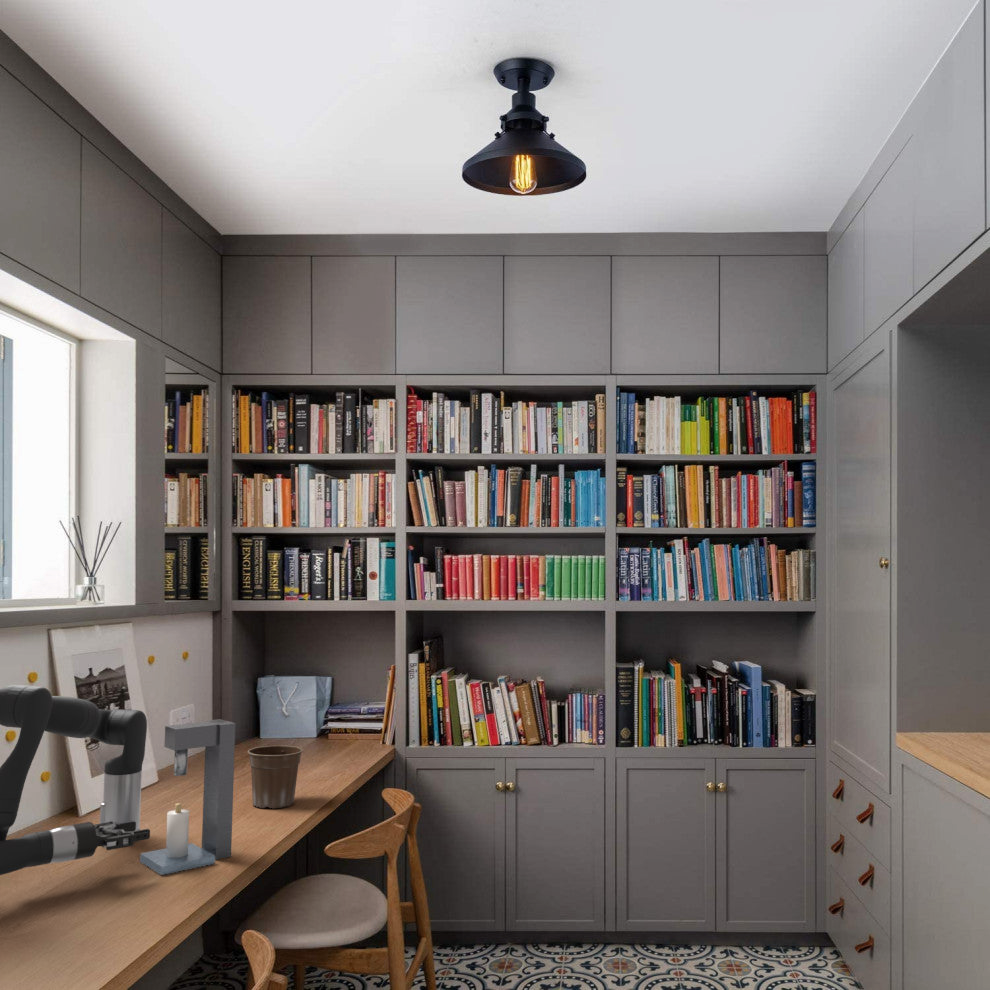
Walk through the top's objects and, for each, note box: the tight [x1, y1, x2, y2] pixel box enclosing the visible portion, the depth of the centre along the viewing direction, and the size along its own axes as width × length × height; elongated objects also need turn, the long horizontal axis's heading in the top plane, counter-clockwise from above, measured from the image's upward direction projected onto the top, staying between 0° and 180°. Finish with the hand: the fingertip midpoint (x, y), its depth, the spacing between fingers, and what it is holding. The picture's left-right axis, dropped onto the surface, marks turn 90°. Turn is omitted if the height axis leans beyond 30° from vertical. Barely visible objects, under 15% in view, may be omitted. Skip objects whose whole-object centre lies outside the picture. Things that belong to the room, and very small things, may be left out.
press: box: [139, 718, 236, 876], centre depth 228 cm, size 18×22×32 cm
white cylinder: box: [165, 802, 190, 858], centre depth 221 cm, size 5×5×12 cm
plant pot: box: [247, 745, 304, 809], centre depth 277 cm, size 16×16×16 cm
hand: (142, 829), depth 216 cm, fingers open, 8 cm apart
